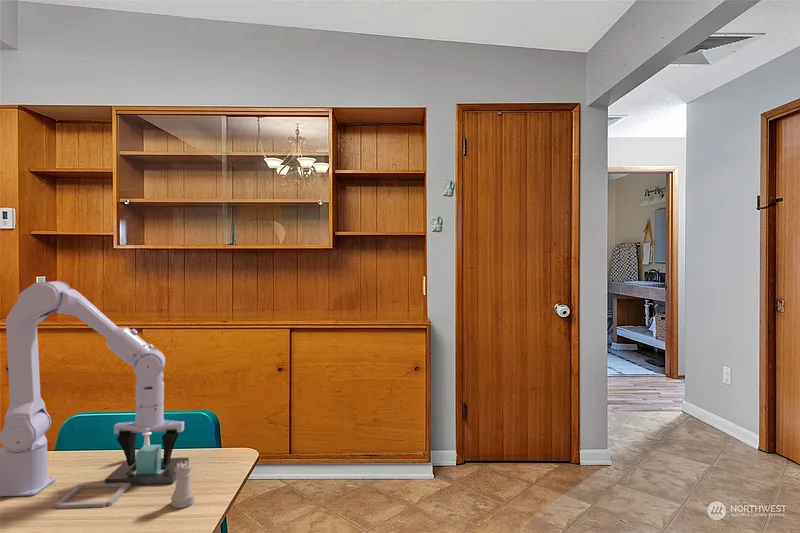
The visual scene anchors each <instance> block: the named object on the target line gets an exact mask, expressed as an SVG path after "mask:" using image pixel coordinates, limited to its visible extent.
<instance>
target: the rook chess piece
mask: <svg viewBox="0 0 800 533" xmlns="http://www.w3.org/2000/svg"><path fill="white" fill-rule="evenodd" d="M192 468H193V467H192V465H191V462H190V461H189V462H188V464H187V461H184V464H182V462H179V463H177V464H176V467H175V469H174V471H175V472H176V473H177V475H176V476H175V478H176V480H175V482H176V483H175V489H174V491H173V494H172V495H171V497H170V500H171V501H170V505H171V507H172V508H175V509H184V508H187V507H190V506H191V505H193V503H194V502H195V493H194V491H193V488H191V483H190V477H191V473H190V471H191V470H192Z"/></svg>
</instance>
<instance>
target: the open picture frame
mask: <svg viewBox="0 0 800 533" xmlns="http://www.w3.org/2000/svg"><path fill="white" fill-rule="evenodd" d="M130 486H132V485H131V483H105V482H90V483H89V482H88V483H86V482H85V483H83V484H82V483H81V484H77V485H76V486H75V487H74V488H72V489H71V490H70V491H69V492H67V493H66V494H65V495H64V496H62V497H61V498H60V499H59V500H57V501H56V502H55V503H54V504H53V508H57V509H73V508H74V509H77V508H101V507H107V506H112V505H113V504H114V503H115V502H116V501H117V500H118V499H119V498H120V497H121V496H122V495H123V494H124V493H125V492H126V491H127V490H128V489H129V488H130ZM99 488H102V489H103V488H119V489H118V490H117V491H116V492H115V493H114V494H113V495H112V496H111V497H110V498H109V499H108V500H105V501H104V500H102V501H101V500H100V501H98V500H97V501H78V502H77V501H74V502H68V501H69V500H70V499H71V498H72V497H73V496H74V495H76V494H78V492H79V491H81V490H82V489H99Z"/></svg>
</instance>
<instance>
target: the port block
mask: <svg viewBox="0 0 800 533" xmlns="http://www.w3.org/2000/svg"><path fill="white" fill-rule="evenodd" d="M163 458H164V457H163ZM163 458H162V457H161V469H164V470H163V471H161V473H160V472H159V473H158V474H136V458H135V463H134V464H133V465H132V466H128V463H127V459H126V460H125V461H124V462H123V463H122V464H120V465H119V466H118V467H117V468H116V469H115V470H114V471H112V472H111V473H110V474H109V475H108V476H107V477H106V478H105V479H104V483H131V486H145V485H146V486H148V485H173V484H174V483H175V482H176V478H175V476H176V475H177V473H176V472H175V471H174V469H175V467H176V464H177V463H179V462H182V464H184V461H187V464H188V462H190V458H189V457H171V458H170V462H169V463H168V464H167V465H164V463H163ZM134 473H135V474H134Z"/></svg>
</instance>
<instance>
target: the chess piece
mask: <svg viewBox="0 0 800 533" xmlns="http://www.w3.org/2000/svg"><path fill="white" fill-rule="evenodd" d="M152 433H153V432H141V435H142V436H144V437H143V438H144V439H143V441H144V442H143V445H142V447H143V446H144V445H151V444H150V443H151V442H150V441H151V440H150V435H152Z"/></svg>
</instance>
